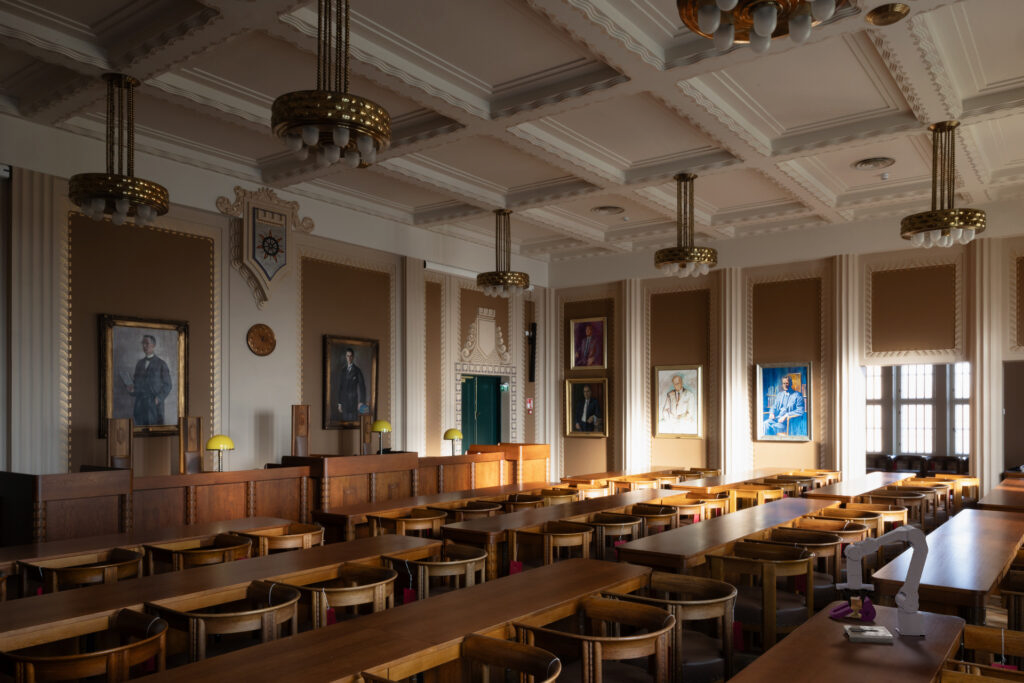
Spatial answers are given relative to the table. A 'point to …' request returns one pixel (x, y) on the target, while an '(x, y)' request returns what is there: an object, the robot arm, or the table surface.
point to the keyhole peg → (856, 607)
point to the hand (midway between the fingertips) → (855, 606)
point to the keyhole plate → (868, 634)
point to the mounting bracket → (843, 610)
